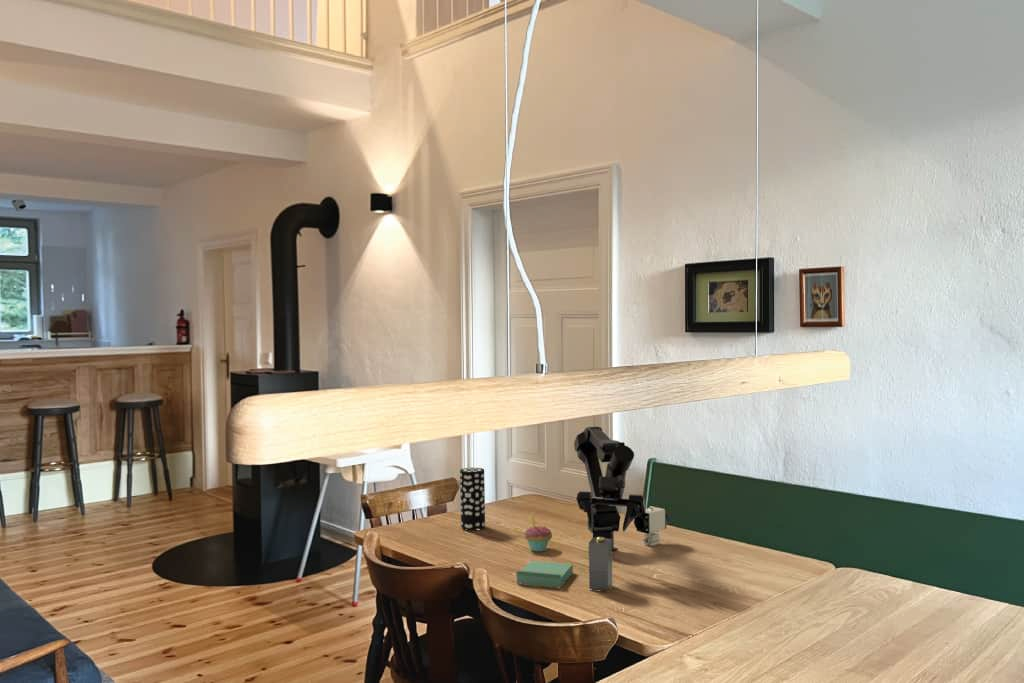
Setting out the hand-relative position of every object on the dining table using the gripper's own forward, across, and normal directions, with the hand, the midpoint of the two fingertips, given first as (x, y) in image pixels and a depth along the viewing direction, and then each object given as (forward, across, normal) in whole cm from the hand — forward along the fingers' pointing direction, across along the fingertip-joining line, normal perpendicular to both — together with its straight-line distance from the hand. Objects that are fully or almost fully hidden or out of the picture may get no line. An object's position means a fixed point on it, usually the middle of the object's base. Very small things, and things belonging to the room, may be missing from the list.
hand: (606, 529), depth 209 cm
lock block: (+15, 0, +4) cm, 16 cm away
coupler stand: (+13, -16, +6) cm, 22 cm away
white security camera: (-16, +6, +35) cm, 39 cm away
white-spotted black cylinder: (-18, -55, +37) cm, 69 cm away
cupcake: (-5, -26, +24) cm, 36 cm away
